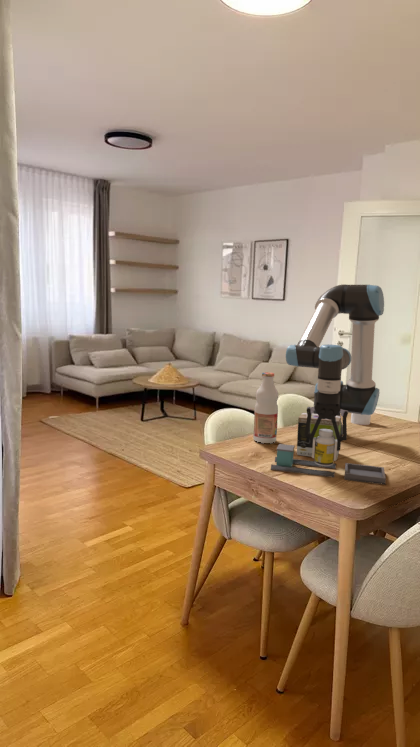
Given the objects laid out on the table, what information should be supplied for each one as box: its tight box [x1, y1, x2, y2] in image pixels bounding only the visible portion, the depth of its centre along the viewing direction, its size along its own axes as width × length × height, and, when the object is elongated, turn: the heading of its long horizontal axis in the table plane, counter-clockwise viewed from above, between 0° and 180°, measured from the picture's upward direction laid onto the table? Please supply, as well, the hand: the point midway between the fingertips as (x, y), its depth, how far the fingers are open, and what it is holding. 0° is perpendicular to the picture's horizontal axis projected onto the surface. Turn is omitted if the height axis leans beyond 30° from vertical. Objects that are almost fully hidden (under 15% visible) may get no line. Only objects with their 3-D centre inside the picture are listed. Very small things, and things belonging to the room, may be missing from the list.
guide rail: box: [270, 456, 337, 478], centre depth 173 cm, size 10×21×2 cm, turn 74°
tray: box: [343, 462, 387, 486], centre depth 167 cm, size 12×13×2 cm
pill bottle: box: [313, 429, 335, 466], centre depth 170 cm, size 6×6×12 cm
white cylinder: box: [350, 413, 372, 426], centre depth 242 cm, size 9×9×12 cm
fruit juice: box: [252, 371, 279, 444], centre depth 203 cm, size 9×9×28 cm
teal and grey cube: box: [275, 443, 296, 467], centre depth 174 cm, size 6×5×6 cm
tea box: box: [296, 412, 342, 461], centre depth 189 cm, size 15×10×15 cm, turn 71°
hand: (324, 458), depth 171 cm, fingers closed on pill bottle, 6 cm apart
